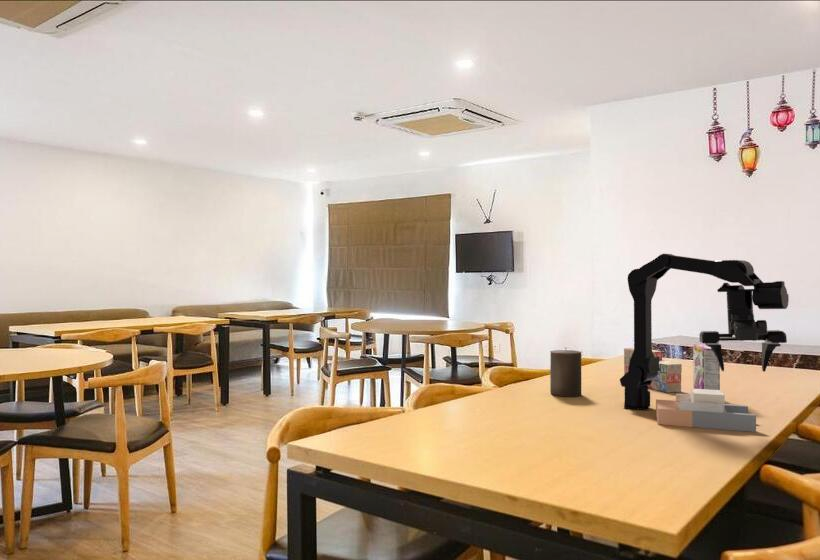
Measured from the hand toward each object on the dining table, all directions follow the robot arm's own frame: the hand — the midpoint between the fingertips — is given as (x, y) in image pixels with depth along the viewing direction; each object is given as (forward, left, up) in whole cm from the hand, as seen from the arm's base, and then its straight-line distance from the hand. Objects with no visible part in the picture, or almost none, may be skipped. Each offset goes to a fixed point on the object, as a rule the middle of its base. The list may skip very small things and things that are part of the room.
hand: (743, 371), depth 151 cm
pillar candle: (-46, +26, -14) cm, 55 cm away
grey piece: (-9, 0, -14) cm, 17 cm away
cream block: (-8, 0, -10) cm, 13 cm away
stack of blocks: (-20, +49, -14) cm, 55 cm away
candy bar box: (-5, +31, -14) cm, 34 cm away
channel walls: (-10, 0, -10) cm, 14 cm away
